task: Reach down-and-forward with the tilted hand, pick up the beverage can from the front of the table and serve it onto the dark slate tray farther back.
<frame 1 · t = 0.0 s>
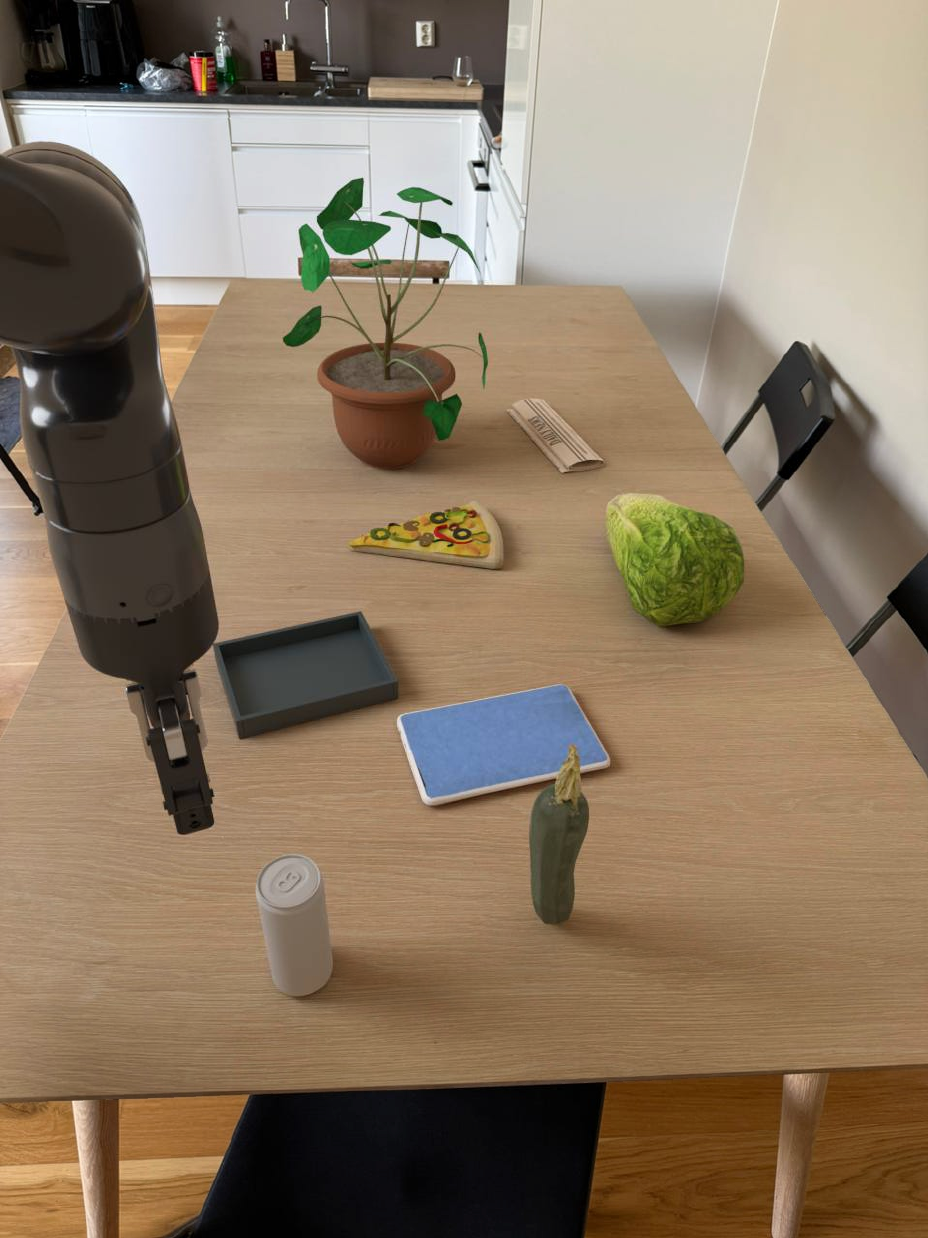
hand: (185, 778, 57), 22 cm above the table, tool pointing down, fingers open, 8 cm apart
beverage can: (303, 973, 71), on the table
pizza slice: (425, 545, 120), on the table
potted plant: (396, 446, 143), on the table
newspaper: (551, 438, 147), on the table
tablet: (500, 747, 91), on the table
vegetable: (544, 923, 75), on the table
lettuce: (654, 580, 115), on the table
serving tray: (305, 679, 98), on the table
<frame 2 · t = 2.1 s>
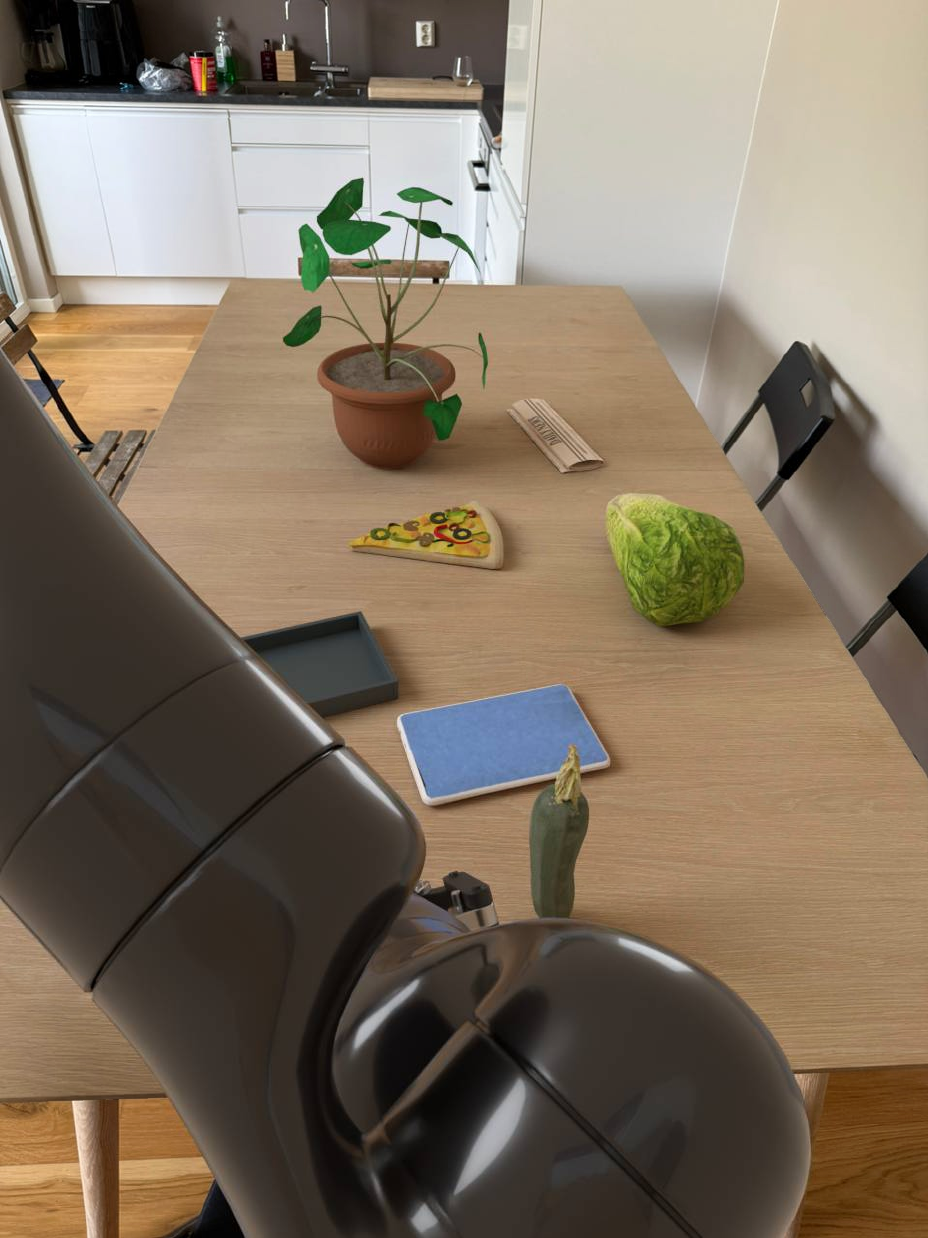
hand: (322, 924, 48), 23 cm above the table, tool tilted 45°, fingers open, 8 cm apart
nothing on the table moved.
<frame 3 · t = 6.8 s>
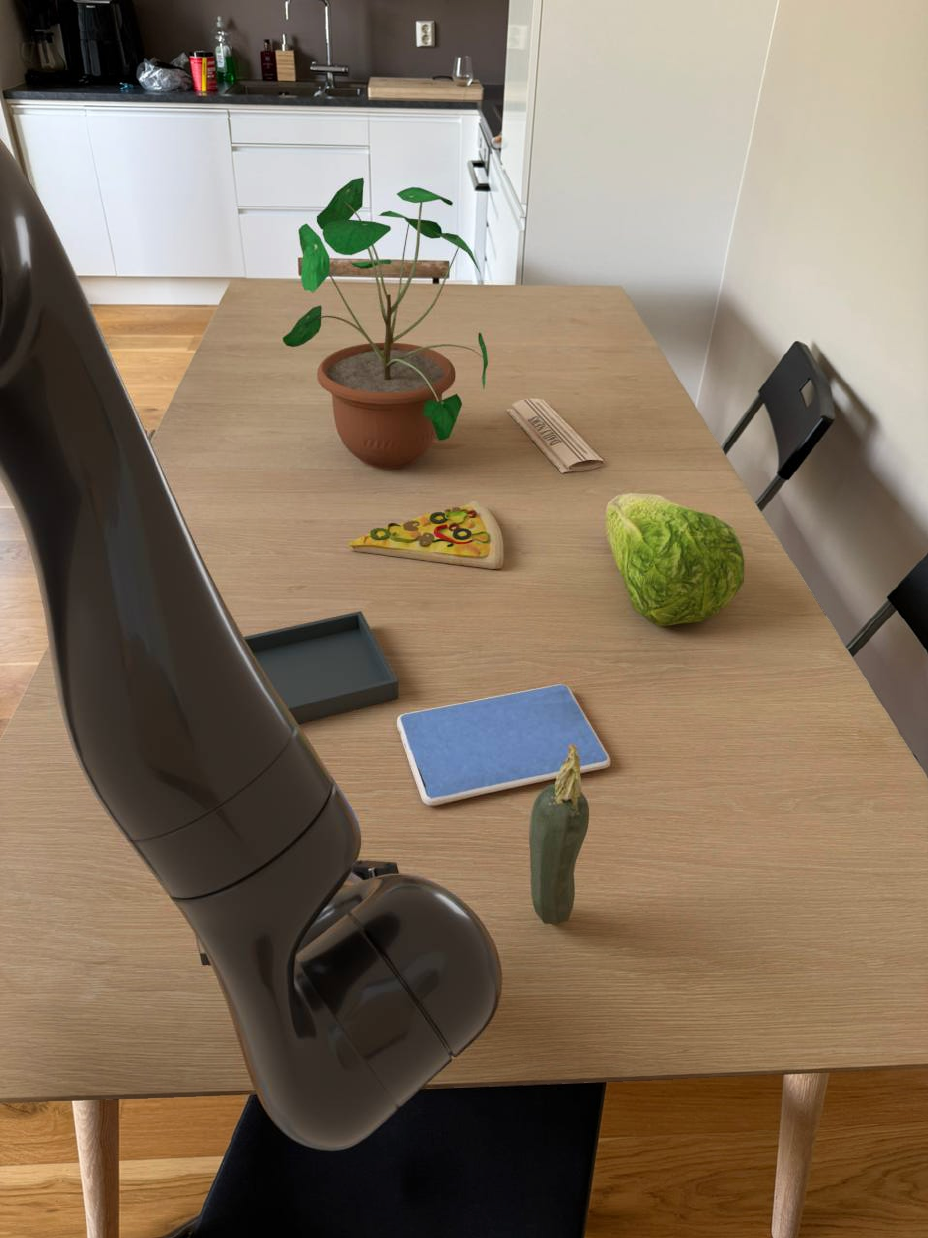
hand: (287, 891, 67), 8 cm above the table, tool tilted 45°, fingers closed on beverage can, 5 cm apart
beverage can: (303, 973, 71), on the table, touching gripper
everything else where it was.
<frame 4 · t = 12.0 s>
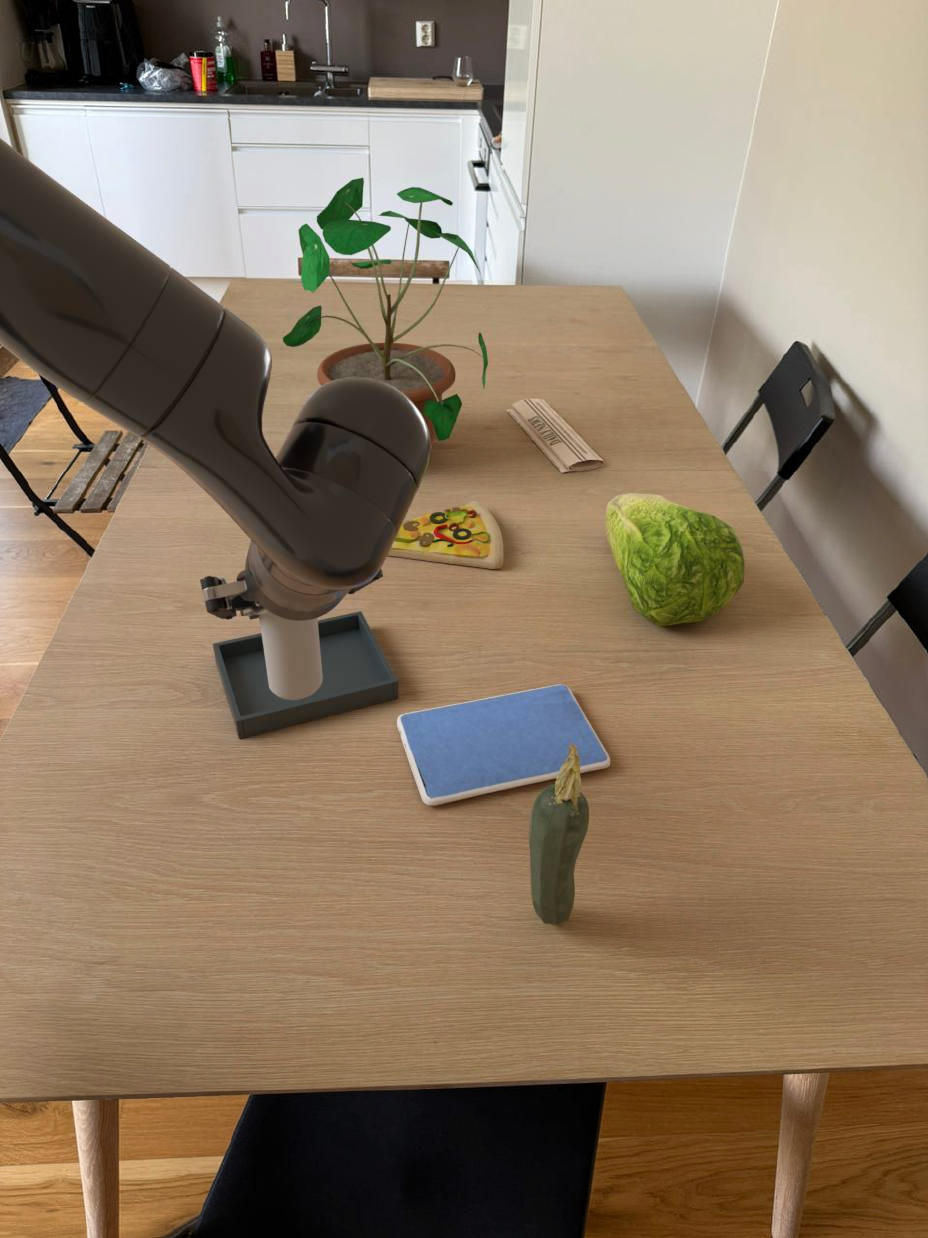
hand: (282, 600, 76), 20 cm above the table, tool tilted 45°, fingers closed on beverage can, 5 cm apart
beverage can: (296, 687, 80), point 12 cm above the table, touching gripper
everything else where it was.
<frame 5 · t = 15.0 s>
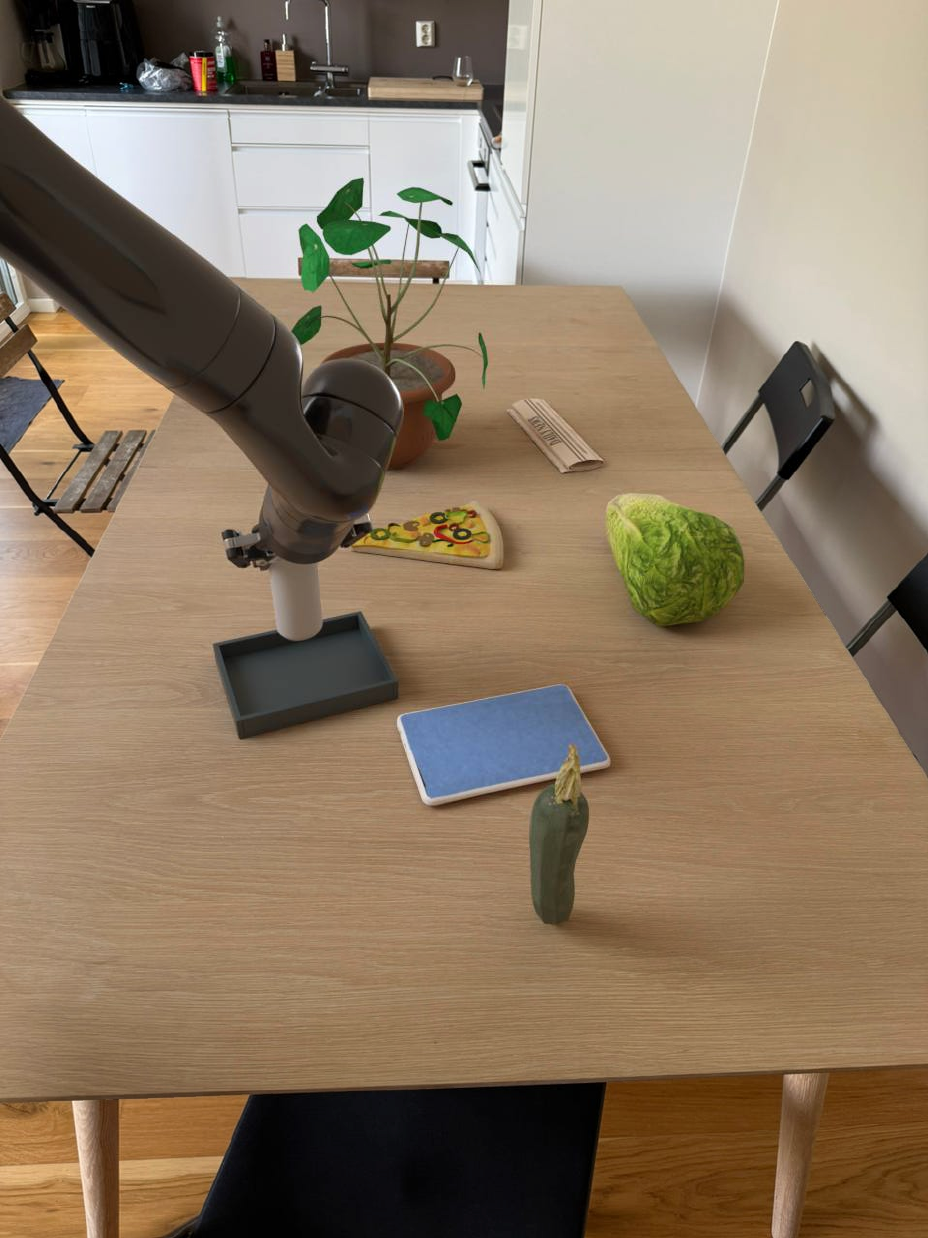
hand: (288, 555, 90), 15 cm above the table, tool tilted 45°, fingers closed on beverage can, 5 cm apart
beverage can: (300, 630, 94), point 7 cm above the table, touching gripper
everything else where it was.
when the fingers open (9 cm above the table, at t = 17.3 s): beverage can stays where it is, resting on serving tray.
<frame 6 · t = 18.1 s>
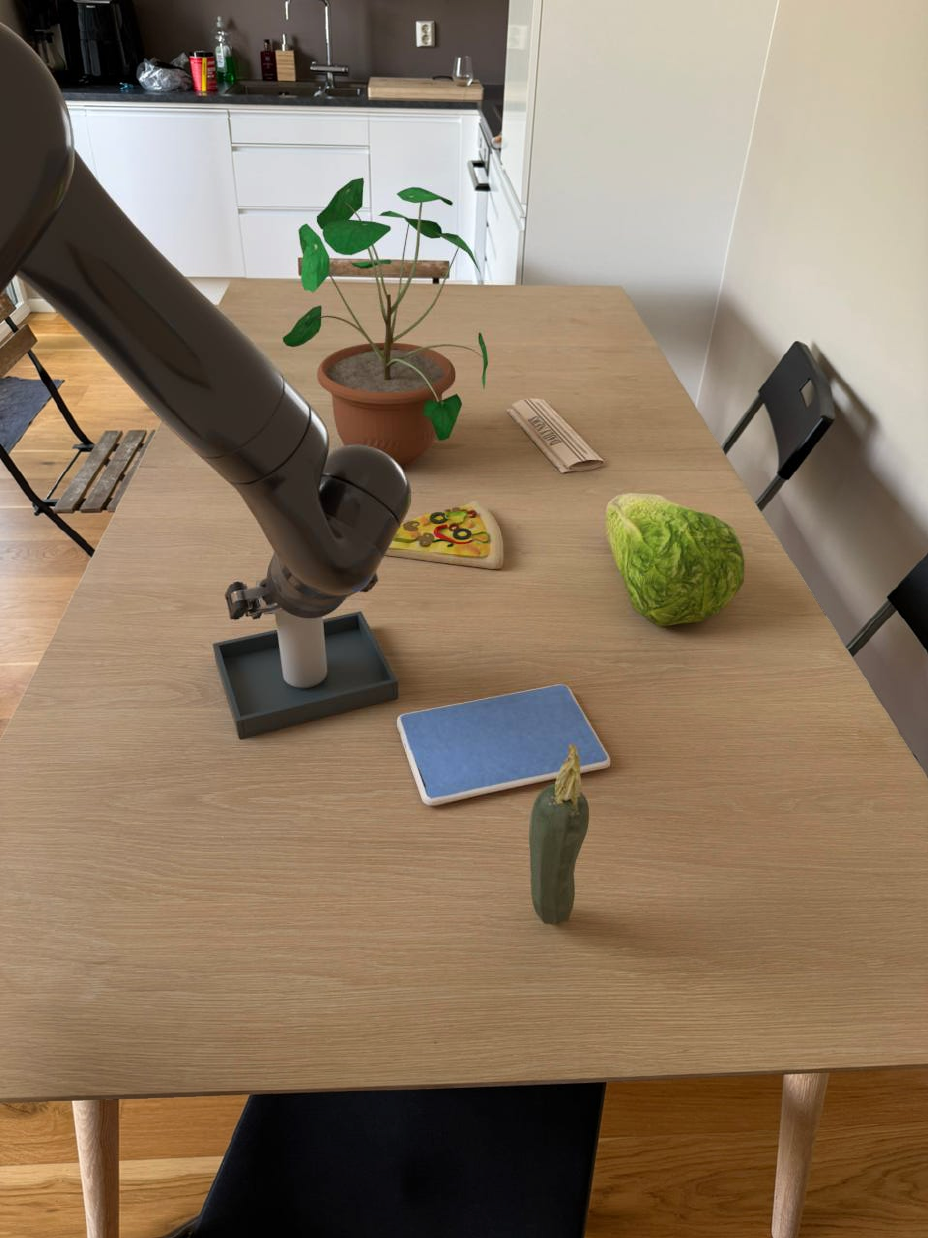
hand: (294, 600, 93), 10 cm above the table, tool tilted 45°, fingers open, 8 cm apart
beverage can: (305, 677, 98), resting on serving tray
everything else where it was.
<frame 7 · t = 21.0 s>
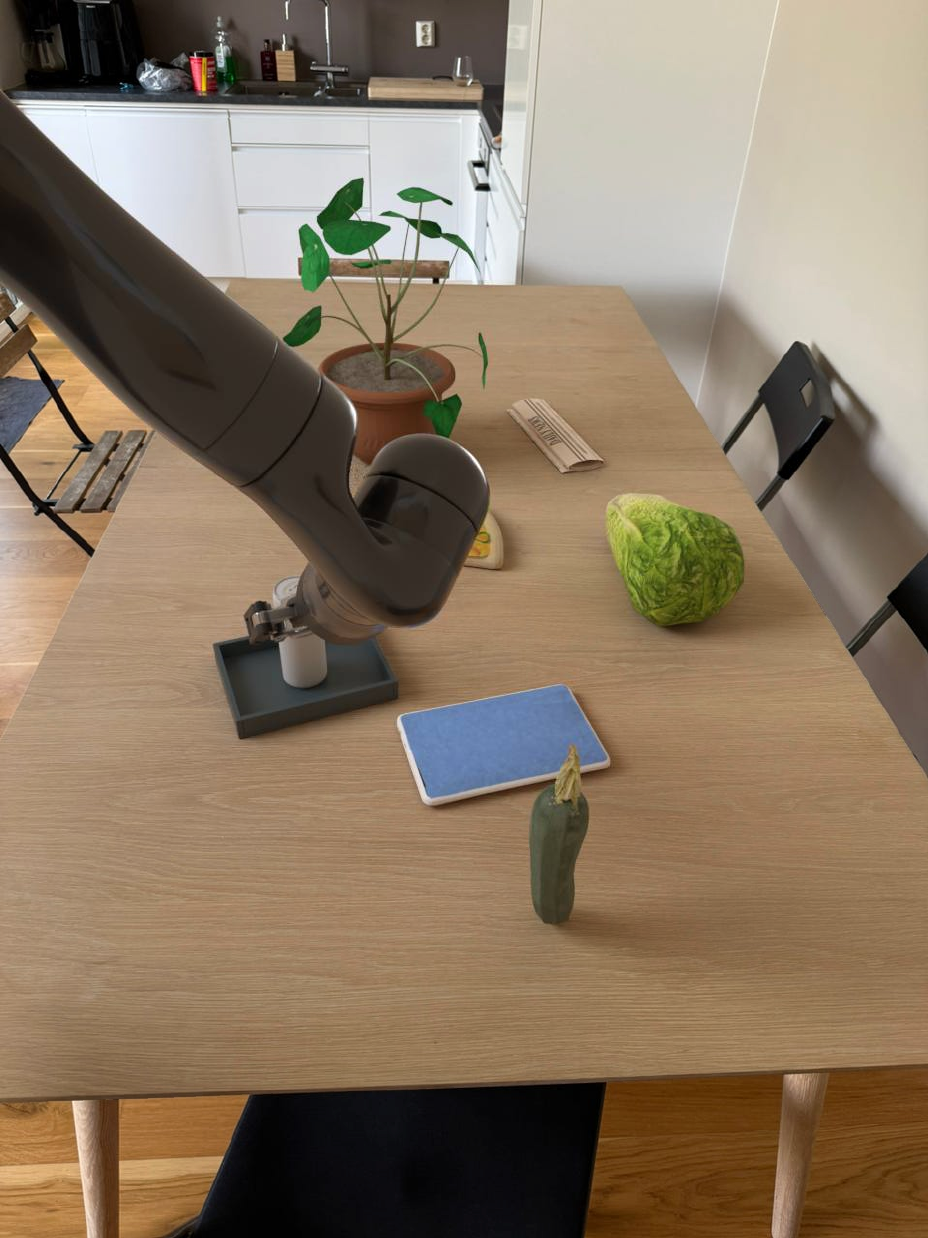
hand: (323, 620, 79), 17 cm above the table, tool tilted 45°, fingers open, 8 cm apart
nothing on the table moved.
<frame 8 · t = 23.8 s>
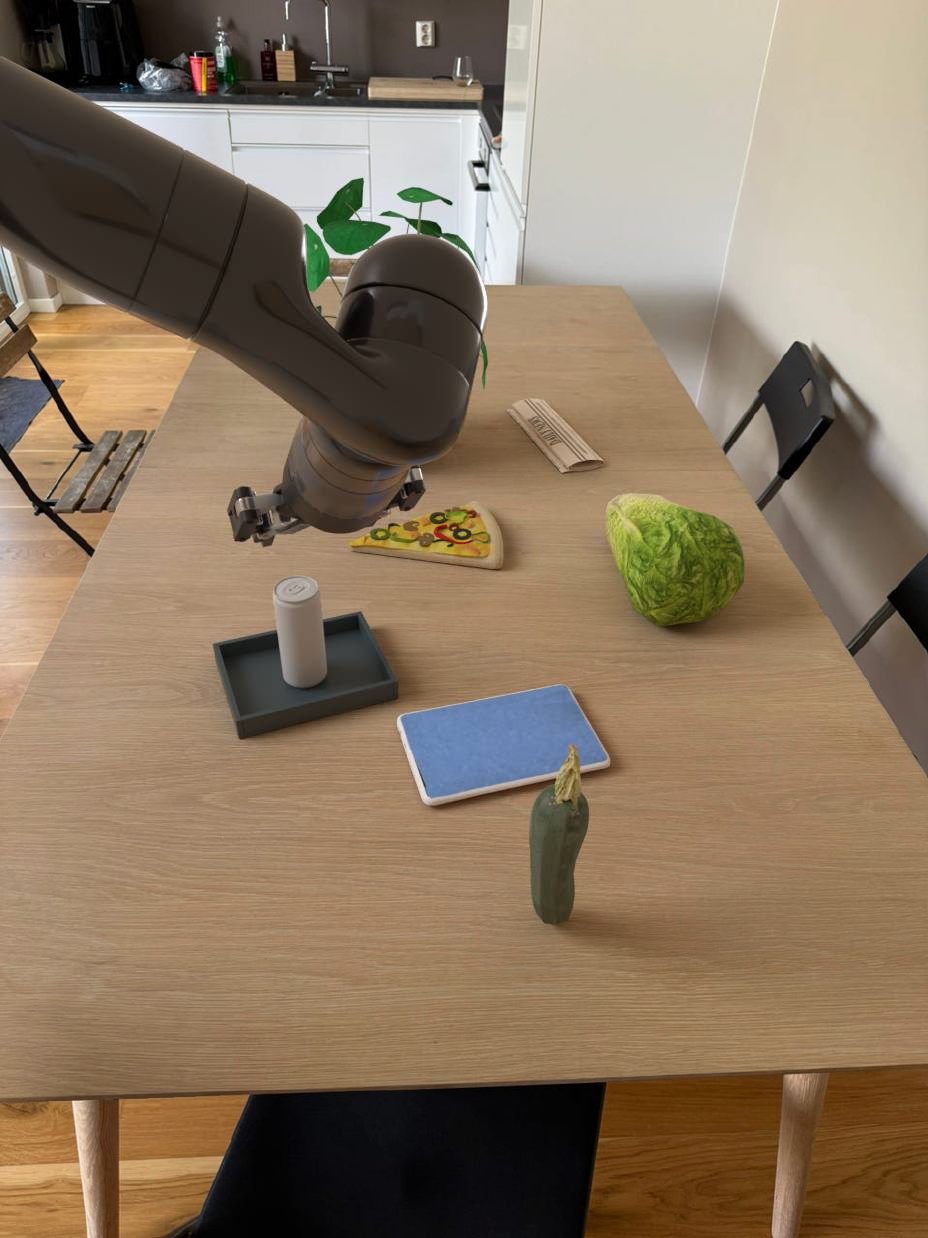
hand: (314, 525, 73), 27 cm above the table, tool tilted 45°, fingers open, 8 cm apart
nothing on the table moved.
at the end: beverage can inside the target area in the serving tray (0.2 cm from its centre), point 0.3 cm above the serving tray's base; beverage can tilted 0°; the gripper is holding nothing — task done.
